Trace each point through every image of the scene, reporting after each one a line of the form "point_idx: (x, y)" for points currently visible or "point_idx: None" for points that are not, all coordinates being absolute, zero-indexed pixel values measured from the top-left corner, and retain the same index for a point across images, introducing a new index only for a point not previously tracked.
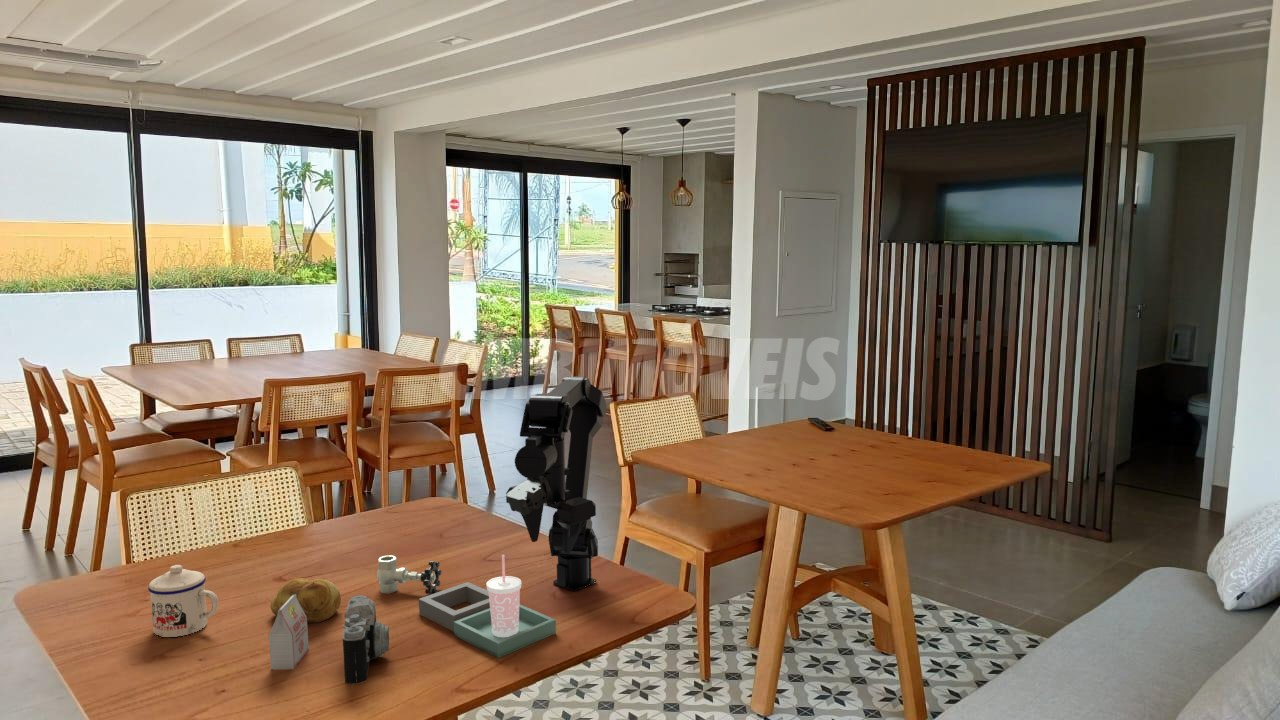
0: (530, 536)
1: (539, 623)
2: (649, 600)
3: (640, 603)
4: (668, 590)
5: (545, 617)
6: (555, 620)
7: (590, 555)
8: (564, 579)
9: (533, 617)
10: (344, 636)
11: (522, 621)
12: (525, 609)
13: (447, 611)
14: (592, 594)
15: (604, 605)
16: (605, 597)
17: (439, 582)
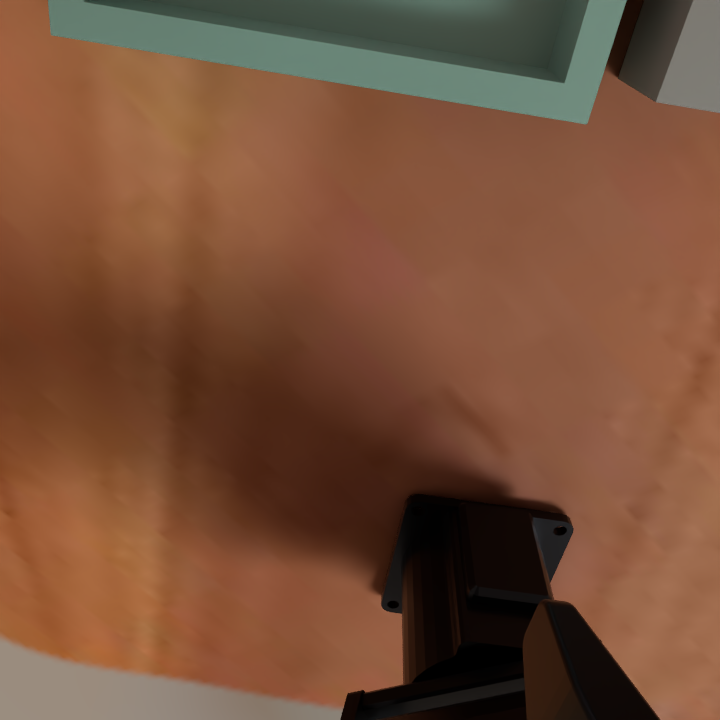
0: (599, 659)
1: (219, 16)
2: (66, 567)
3: (69, 533)
4: (88, 655)
5: (138, 20)
6: (54, 33)
7: (345, 710)
8: (472, 531)
9: (281, 30)
10: None
11: (376, 2)
12: (372, 51)
13: None
14: (316, 511)
15: (177, 450)
16: (241, 513)
17: None
